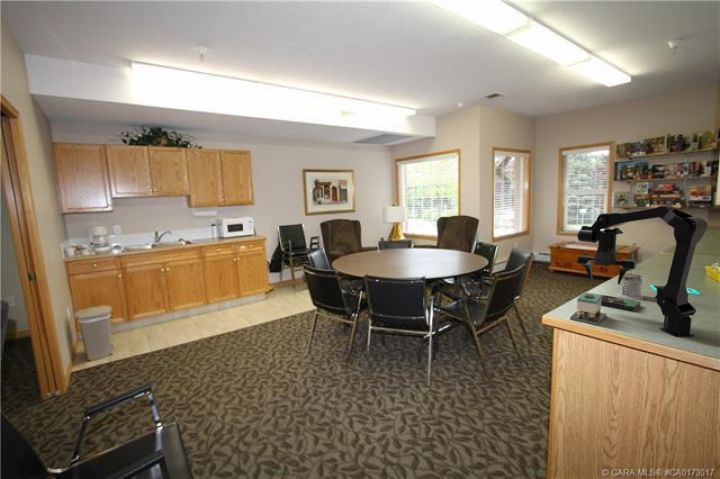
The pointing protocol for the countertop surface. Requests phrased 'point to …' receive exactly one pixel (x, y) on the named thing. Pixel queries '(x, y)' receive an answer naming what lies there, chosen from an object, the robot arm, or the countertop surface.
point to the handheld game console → (690, 291)
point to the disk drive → (620, 303)
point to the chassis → (589, 317)
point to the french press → (631, 284)
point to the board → (589, 302)
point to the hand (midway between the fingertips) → (604, 282)
